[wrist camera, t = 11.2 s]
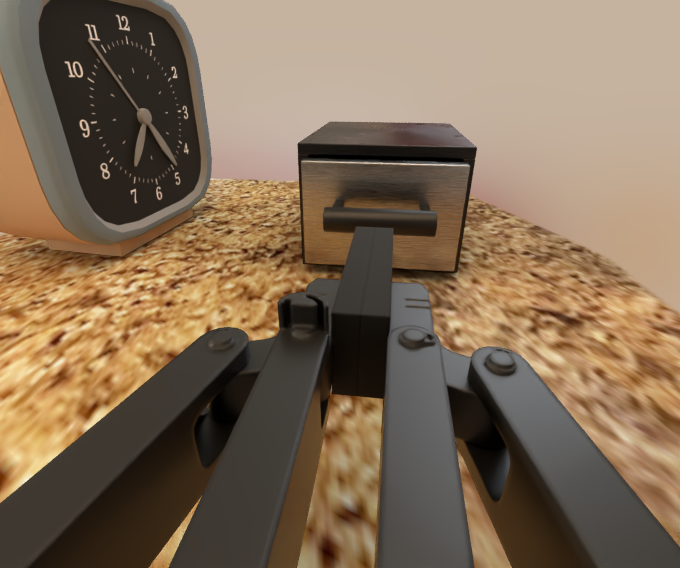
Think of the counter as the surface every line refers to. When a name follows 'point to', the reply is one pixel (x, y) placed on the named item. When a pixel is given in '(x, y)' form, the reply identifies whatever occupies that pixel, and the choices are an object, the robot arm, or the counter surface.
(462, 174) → the drawer
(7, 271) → the counter surface
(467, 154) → the cabinet
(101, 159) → the alarm clock
